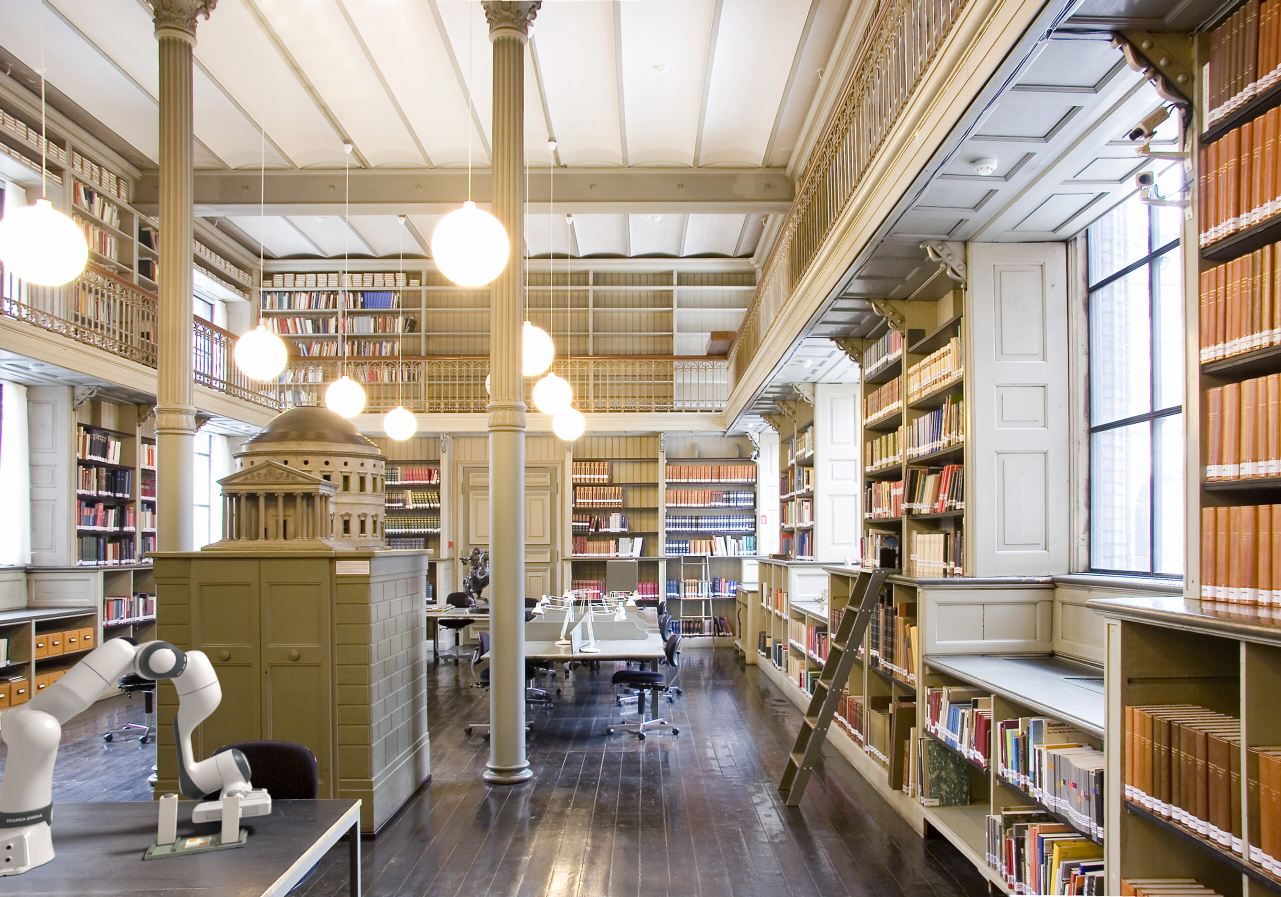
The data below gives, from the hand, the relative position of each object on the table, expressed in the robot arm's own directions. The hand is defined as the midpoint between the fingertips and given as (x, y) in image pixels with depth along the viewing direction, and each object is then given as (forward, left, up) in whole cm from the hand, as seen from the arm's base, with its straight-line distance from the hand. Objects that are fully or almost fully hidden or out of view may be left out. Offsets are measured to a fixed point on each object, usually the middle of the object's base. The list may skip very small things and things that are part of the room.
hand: (231, 818), depth 232 cm
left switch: (-15, +7, -6) cm, 17 cm away
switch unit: (-8, +3, -7) cm, 11 cm away
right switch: (0, -2, -6) cm, 6 cm away
